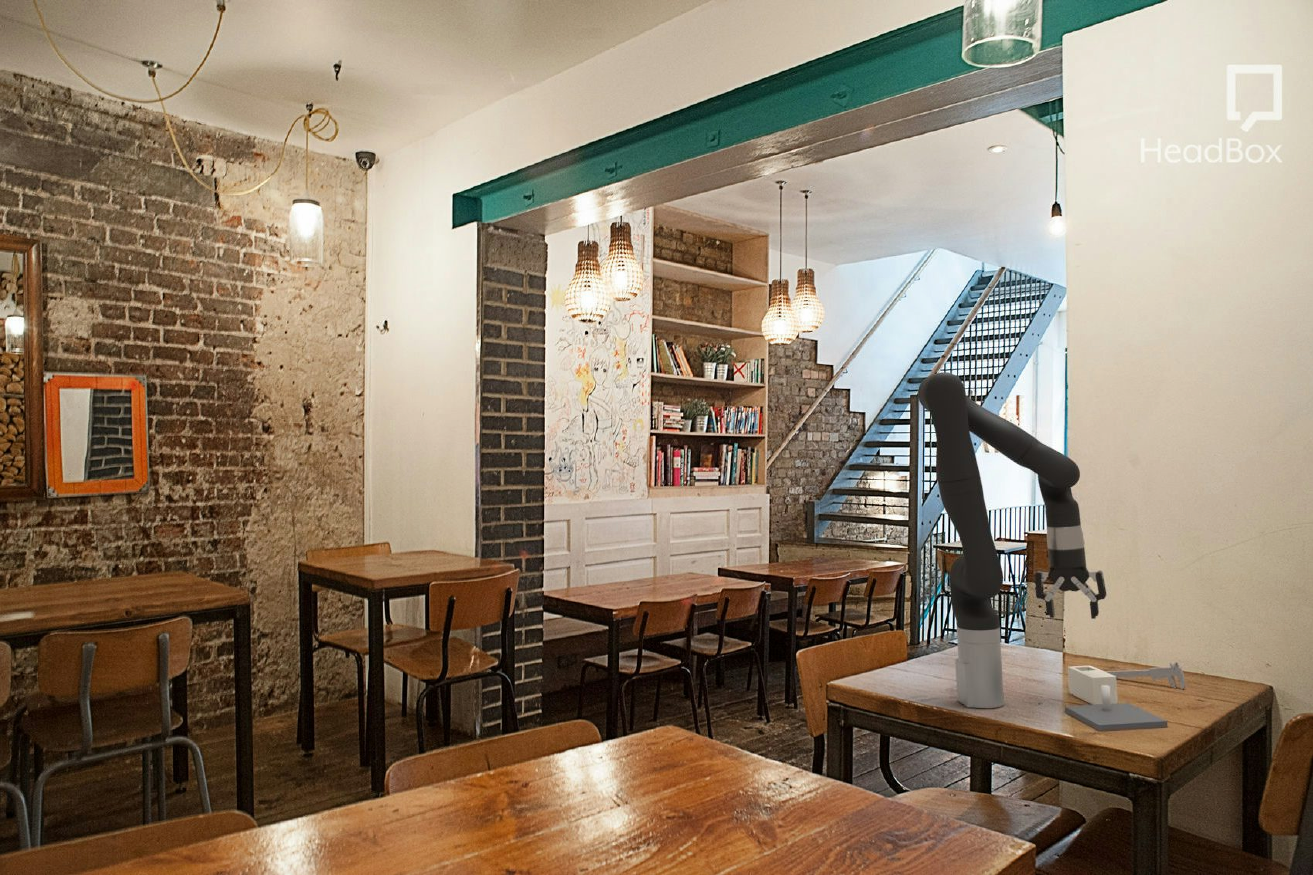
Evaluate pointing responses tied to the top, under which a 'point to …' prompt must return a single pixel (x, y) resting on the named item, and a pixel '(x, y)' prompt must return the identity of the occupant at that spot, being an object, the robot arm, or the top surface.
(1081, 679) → the socket block
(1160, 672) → the caliper
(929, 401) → the robot arm
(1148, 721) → the pin plate
